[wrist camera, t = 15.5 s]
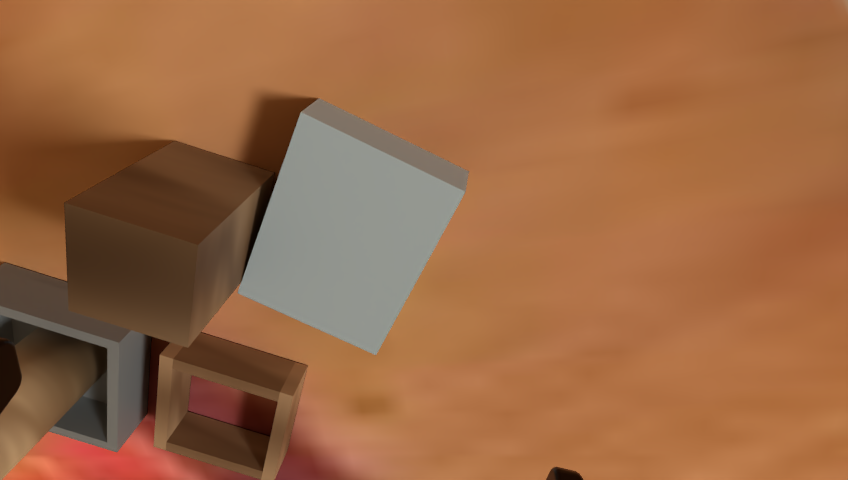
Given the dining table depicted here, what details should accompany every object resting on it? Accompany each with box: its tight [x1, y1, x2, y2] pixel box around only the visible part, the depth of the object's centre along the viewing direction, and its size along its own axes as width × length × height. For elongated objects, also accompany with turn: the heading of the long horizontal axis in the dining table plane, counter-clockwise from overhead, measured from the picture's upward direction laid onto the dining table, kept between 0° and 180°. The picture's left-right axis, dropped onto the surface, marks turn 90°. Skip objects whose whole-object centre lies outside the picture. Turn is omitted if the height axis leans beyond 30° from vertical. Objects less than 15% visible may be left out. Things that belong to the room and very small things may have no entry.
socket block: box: [154, 332, 308, 480], centre depth 26 cm, size 6×6×2 cm
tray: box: [0, 263, 151, 452], centre depth 25 cm, size 7×7×2 cm
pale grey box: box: [238, 98, 469, 355], centre depth 21 cm, size 8×6×2 cm
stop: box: [64, 141, 274, 348], centre depth 19 cm, size 4×4×6 cm
